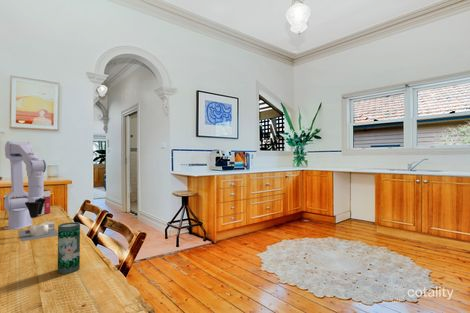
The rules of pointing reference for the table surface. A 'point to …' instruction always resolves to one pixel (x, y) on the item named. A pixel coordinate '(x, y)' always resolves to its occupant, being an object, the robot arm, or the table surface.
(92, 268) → the table surface
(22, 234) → the mat
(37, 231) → the plug
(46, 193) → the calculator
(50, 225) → the block
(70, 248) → the can
